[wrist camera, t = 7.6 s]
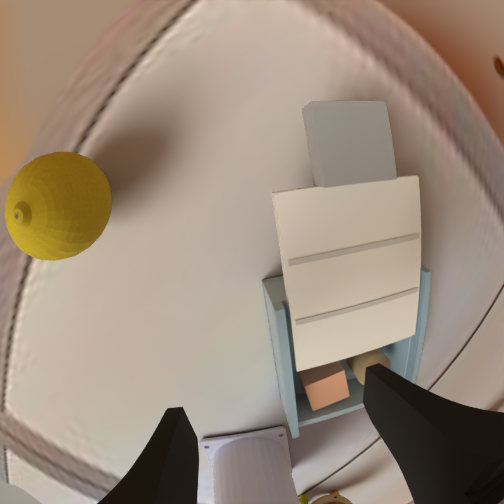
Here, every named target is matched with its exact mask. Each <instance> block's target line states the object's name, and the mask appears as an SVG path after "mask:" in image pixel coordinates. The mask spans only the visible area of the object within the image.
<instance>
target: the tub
mask: <svg viewBox="0 0 504 504" xmlns="http://www.w3.org/2000/svg"><path fill="white" fill-rule="evenodd" d="M431 274H432V271H431V270H429V269H427V268H425V267H423V266H421V271H420V289H419V302H418V312H417V322H416V330H415V335H413V336H410V337H408V338H405V339H402V340H400V341H397V342H394V343H391V344H389V345H386V346H383V347H380V349H381V350H382V351H383V353H384V354H385V355H386V356H387V357H388V358H389V359H390V362H391V366H390V370H392V371H393V372H395V373H397V374H398V375H400V376H402V377H404V378H405V379H407V380H409V381H410V382H412V383H414V384H416V380H417V375H418V370H419V366H420V361H421V355H422V350H423V344H424V338H425V331H426V324H427V317H428V308H429V299H430V288H431ZM262 283H263V290H264V296H265V302H266V308H267V315H268V321H269V327H270V333H271V340H272V346H273V352H274V359H275V365H276V372H277V378H278V384H279V391H280V397H281V401H282V405H283V408H284V411H285V415H286V418H287V421H288V425H289V428H290V431H291V435H292V438H297V437H299V428H298V427H301V426H305V425H309V424H313V423H316V422H320V421H323V420H327V419H330V418H334V417H337V416H340V415H343V414H346V413H349V412H352V411H355V410H358V409H361V408H364V407H365V406H364V404H363V393H364V385H362V384H361V383H360V382H359V381H358V379H357V378H356V376H355V375H354V373H353V372H352V370H351V369H350V367H349V366H348V364H347V361H346V359H342V360H339V362H340V364H341V366H342V367H343V369H344V371H345V376H346V380H347V385H348V390H349V395H350V396H349V397H347V398H345V399H342V400H340V401H338V402H335V403H333V404H330V405H328V406H326V407H323V408H321V409H318V410H315V411H313V410H312V408H311V405H310V403H309V400H308V398H307V395H306V393H305V390H304V388H303V385H302V382H301V379H300V376H299V374H298V372H297V371H296V368H295V366H294V359H293V350H292V342H291V333H290V325H289V317H288V308H287V301H286V293H285V285H284V277H283V276H279V277H274V278H269V279H264V280H262Z"/></svg>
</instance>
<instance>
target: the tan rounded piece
mask: <svg viewBox="0 0 504 504" xmlns="http://www.w3.org/2000/svg"><path fill="white" fill-rule="evenodd" d="M346 361H347V364H348V366H349V367H350V369H351V370H352V372H353V373H354V375H355V376H356V378H357V379H358V381H359V382H360V383H361V384H362V385H364V382H365V371H366V367H369V366H372V365H374V364H377V363H380V364H382V365H384V366H385V367H387V368H389V369H390V366H391V362H390V359H389V358H388V357H387V356H386V355H385V354H384V353H383V351H382V350H381V349H380V348H377V349H374V350H371V351H368V352H365V353H362V354H359V355H355V356H352V357H349V358H346Z"/></svg>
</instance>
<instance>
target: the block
mask: <svg viewBox="0 0 504 504" xmlns="http://www.w3.org/2000/svg"><path fill="white" fill-rule="evenodd" d="M298 374H299V376H300V379H301V382H302V385H303V388H304V390H305V393H306V395H307V398H308V400H309V403H310V405H311V408H312V410H313V411H315V410H318V409H321V408H323V407H326V406H328V405H330V404H333V403H335V402H338V401H340V400H342V399H345V398H347V397H349V396H350V395H349V390H348V385H347V380H346V376H345V371H344V369H343V367H342V366H341V364H340V362H339V361H335V362H332V363H328V364H325V365H321V366H317V367H313V368H310V369H306V370H302V371H298Z"/></svg>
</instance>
